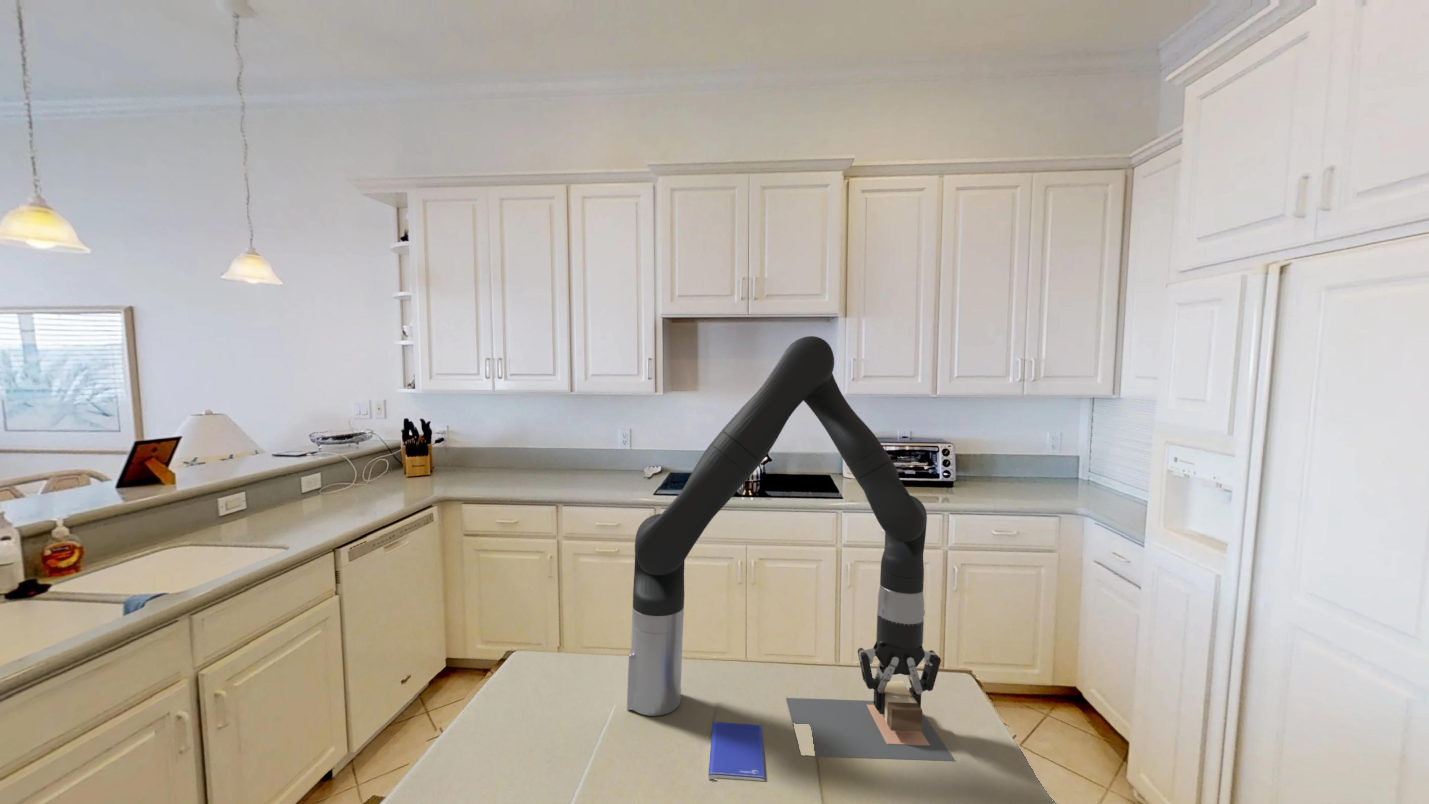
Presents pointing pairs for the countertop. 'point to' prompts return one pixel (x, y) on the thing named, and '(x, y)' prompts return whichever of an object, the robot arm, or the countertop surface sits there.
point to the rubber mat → (863, 732)
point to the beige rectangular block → (901, 708)
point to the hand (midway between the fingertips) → (896, 711)
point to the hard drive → (736, 752)
